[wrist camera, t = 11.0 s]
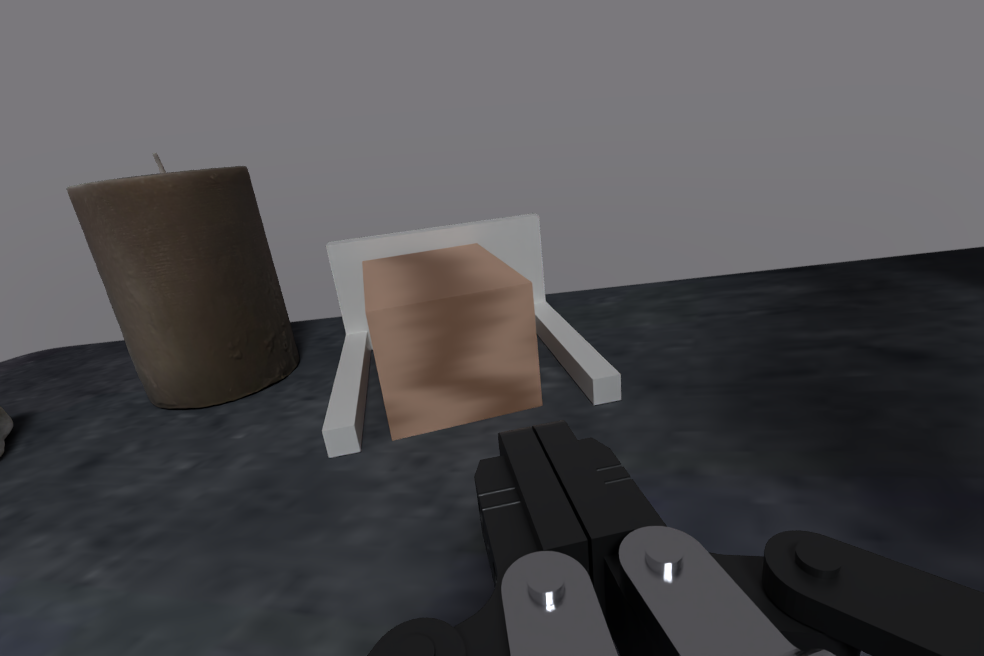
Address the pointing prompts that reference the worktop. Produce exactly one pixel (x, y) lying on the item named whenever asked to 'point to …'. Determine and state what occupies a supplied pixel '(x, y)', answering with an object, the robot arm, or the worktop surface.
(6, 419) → the pastry
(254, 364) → the pillar candle
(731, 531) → the worktop surface
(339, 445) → the white frame piece
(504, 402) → the wooden block
